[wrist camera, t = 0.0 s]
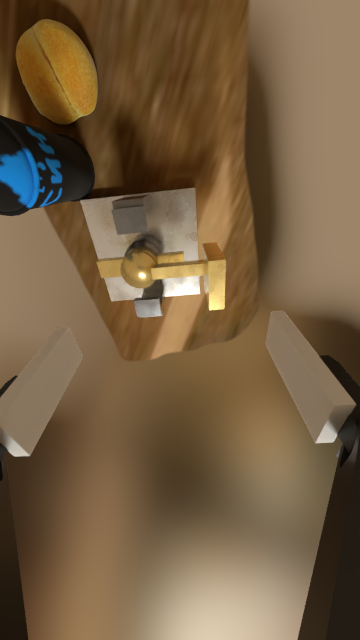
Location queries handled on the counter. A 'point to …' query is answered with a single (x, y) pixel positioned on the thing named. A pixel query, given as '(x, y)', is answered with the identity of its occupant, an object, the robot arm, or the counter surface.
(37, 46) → the bread roll
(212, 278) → the gold branched bar piece
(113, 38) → the counter surface
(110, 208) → the socket base
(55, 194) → the aerosol can
